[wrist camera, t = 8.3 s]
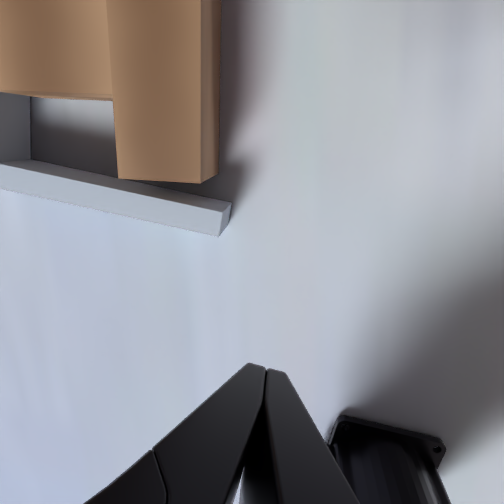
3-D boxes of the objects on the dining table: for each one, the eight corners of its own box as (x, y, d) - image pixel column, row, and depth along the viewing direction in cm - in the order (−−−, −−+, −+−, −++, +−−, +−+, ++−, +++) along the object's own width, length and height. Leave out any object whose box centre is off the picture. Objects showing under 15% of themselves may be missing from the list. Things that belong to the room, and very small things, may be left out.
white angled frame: (293, -146, 15) (292, -199, 12) (228, 224, 20) (218, 237, 17) (1, -194, 15) (-54, -255, 13) (9, 176, 20) (-29, 182, 18)
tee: (222, -64, 16) (200, -127, 12) (218, 173, 19) (200, 183, 15) (24, -65, 16) (-56, -124, 13) (52, 163, 20) (-5, 171, 16)
